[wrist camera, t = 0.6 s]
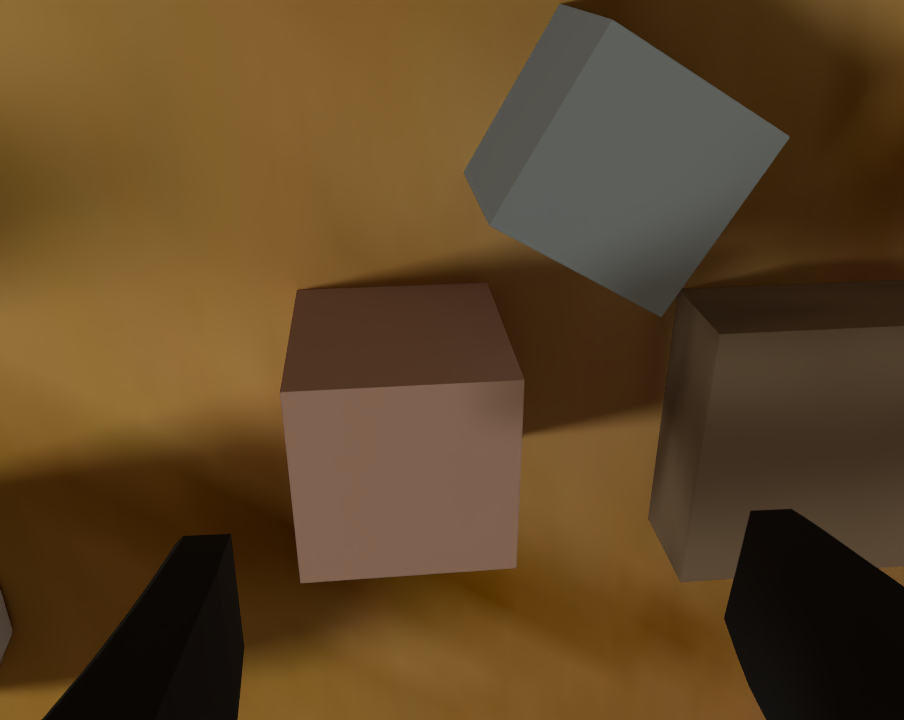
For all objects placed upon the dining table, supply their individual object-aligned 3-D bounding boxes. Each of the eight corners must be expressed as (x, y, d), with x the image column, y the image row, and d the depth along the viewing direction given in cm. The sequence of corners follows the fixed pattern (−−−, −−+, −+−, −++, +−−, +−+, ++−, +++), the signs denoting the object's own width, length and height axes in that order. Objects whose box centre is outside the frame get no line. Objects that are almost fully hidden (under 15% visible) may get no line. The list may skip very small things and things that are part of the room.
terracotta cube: (483, 440, 22) (516, 567, 18) (311, 450, 22) (300, 583, 17) (487, 281, 20) (524, 379, 16) (297, 288, 20) (279, 392, 15)
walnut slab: (875, 495, 25) (937, 563, 22) (644, 510, 24) (680, 582, 21) (936, 273, 21) (1019, 320, 19) (673, 284, 21) (720, 334, 18)
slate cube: (606, 250, 20) (661, 317, 16) (463, 171, 19) (488, 225, 15) (706, 99, 19) (790, 136, 15) (558, 3, 17) (612, 19, 14)
